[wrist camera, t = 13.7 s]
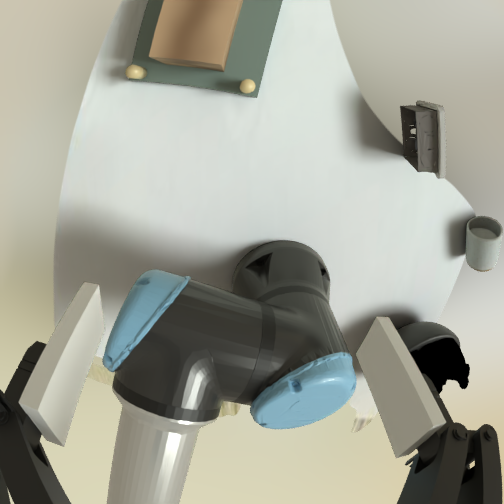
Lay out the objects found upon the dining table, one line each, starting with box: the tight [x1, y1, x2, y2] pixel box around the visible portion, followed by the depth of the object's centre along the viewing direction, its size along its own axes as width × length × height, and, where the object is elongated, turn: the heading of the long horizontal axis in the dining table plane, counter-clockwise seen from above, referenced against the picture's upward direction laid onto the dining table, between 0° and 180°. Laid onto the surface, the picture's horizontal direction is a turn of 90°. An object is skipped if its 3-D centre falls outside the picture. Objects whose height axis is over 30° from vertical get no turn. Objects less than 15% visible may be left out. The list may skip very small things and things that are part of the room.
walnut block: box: [149, 0, 243, 72], centre depth 23 cm, size 7×11×8 cm, turn 167°
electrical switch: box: [400, 101, 446, 179], centre depth 32 cm, size 9×5×9 cm, turn 11°
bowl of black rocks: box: [397, 322, 470, 394], centre depth 48 cm, size 20×20×19 cm
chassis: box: [125, 0, 282, 98], centre depth 26 cm, size 16×16×5 cm
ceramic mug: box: [466, 216, 503, 272], centre depth 41 cm, size 11×8×8 cm
